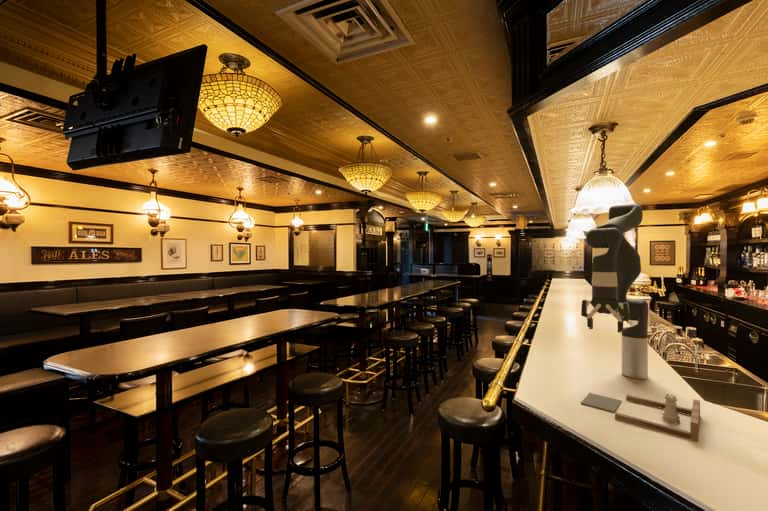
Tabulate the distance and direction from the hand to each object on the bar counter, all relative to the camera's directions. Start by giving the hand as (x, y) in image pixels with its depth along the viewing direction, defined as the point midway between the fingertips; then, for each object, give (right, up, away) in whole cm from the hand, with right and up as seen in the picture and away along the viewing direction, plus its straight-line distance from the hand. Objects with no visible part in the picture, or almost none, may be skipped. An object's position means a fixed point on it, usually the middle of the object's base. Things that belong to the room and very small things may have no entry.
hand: (604, 330), depth 120 cm
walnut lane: (+10, -26, -10) cm, 29 cm away
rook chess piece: (+13, -26, -12) cm, 32 cm away
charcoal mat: (-1, -26, +1) cm, 26 cm away
